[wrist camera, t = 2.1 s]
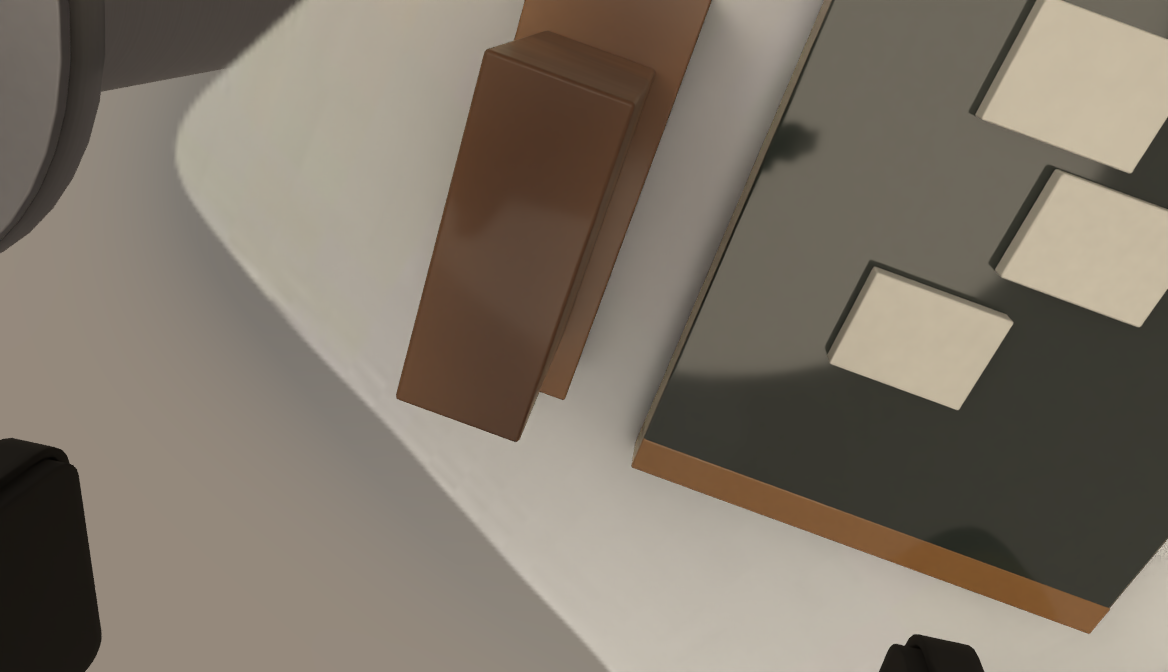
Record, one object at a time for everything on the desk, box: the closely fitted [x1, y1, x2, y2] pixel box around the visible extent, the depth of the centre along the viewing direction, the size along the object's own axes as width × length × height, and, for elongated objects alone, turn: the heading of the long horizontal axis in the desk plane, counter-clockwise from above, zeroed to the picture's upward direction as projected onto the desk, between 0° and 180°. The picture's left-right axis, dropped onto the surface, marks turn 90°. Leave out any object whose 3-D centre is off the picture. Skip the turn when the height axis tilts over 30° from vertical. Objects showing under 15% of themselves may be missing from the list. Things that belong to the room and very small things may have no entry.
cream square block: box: [975, 0, 1168, 173], centre depth 20 cm, size 4×3×1 cm
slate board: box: [631, 0, 1168, 634], centre depth 22 cm, size 16×22×2 cm
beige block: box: [995, 169, 1168, 327], centre depth 21 cm, size 4×3×1 cm
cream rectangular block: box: [827, 267, 1013, 410], centre depth 23 cm, size 4×3×1 cm
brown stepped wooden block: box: [396, 0, 712, 442], centre depth 20 cm, size 4×12×8 cm, turn 162°
